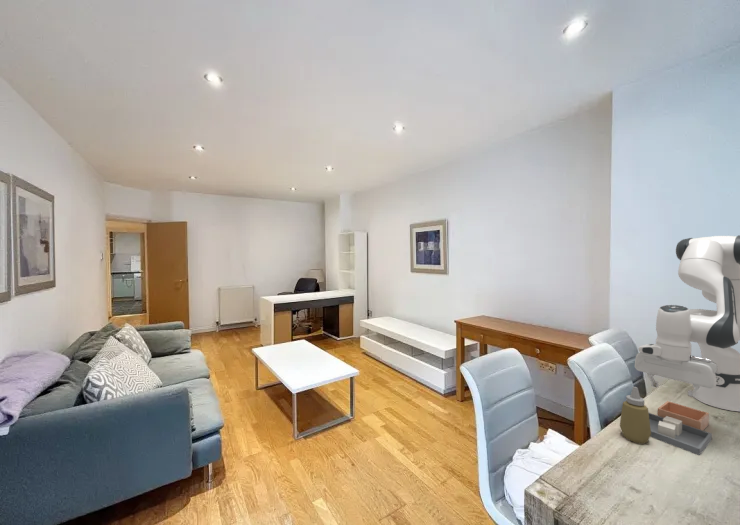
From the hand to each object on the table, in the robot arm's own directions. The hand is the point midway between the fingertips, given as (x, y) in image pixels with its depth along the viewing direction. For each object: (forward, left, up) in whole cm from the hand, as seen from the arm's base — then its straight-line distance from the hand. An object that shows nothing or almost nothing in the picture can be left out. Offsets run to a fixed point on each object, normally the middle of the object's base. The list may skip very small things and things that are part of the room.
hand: (672, 391), depth 106 cm
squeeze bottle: (+16, -5, -15) cm, 23 cm away
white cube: (0, 0, -14) cm, 14 cm away
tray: (+3, 0, -15) cm, 15 cm away
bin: (-12, 0, -15) cm, 19 cm away
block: (+6, 0, -14) cm, 15 cm away
